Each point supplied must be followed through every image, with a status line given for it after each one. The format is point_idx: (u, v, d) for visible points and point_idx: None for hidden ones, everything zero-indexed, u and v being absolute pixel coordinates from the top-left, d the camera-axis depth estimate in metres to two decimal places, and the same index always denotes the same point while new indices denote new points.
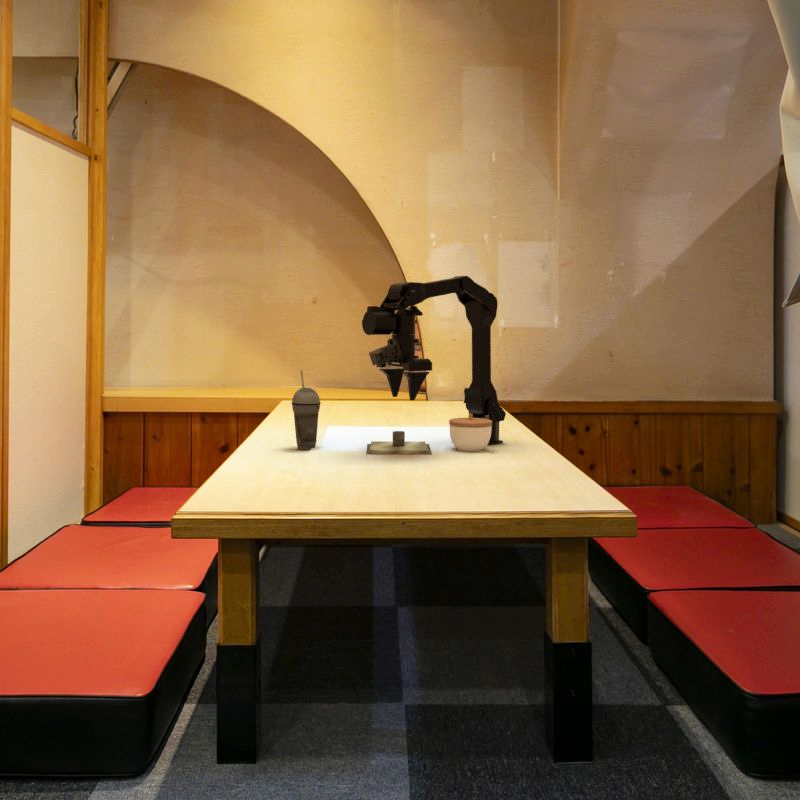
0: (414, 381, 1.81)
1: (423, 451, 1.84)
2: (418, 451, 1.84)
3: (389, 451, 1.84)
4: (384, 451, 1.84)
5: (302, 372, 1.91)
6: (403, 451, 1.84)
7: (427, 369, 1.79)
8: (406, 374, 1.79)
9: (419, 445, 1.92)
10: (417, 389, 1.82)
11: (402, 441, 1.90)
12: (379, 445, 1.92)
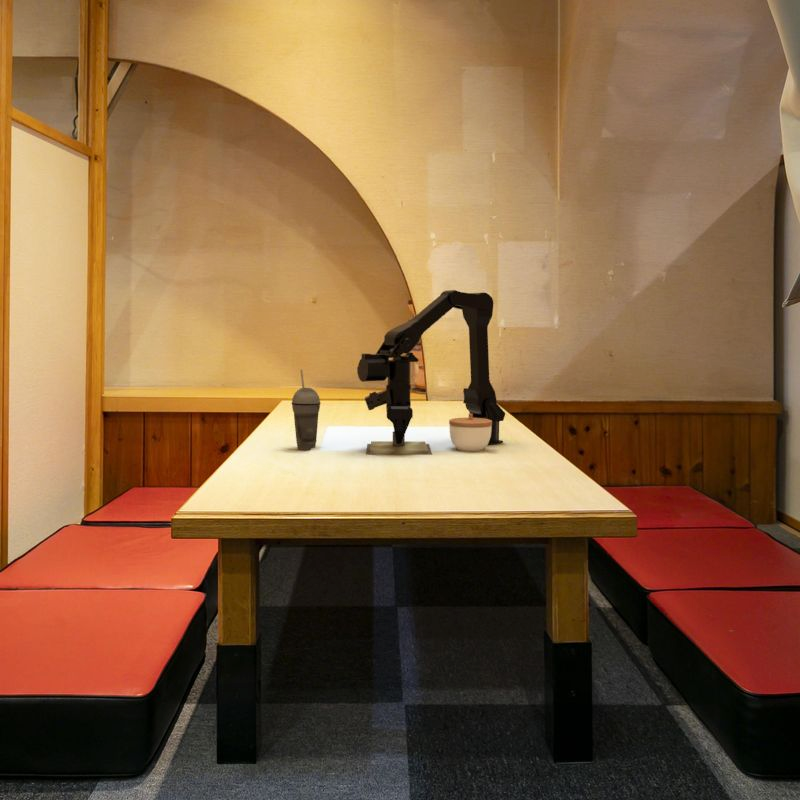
0: (398, 425, 1.88)
1: (423, 451, 1.84)
2: (418, 451, 1.84)
3: (389, 451, 1.84)
4: (384, 451, 1.84)
5: (302, 372, 1.91)
6: (403, 451, 1.84)
7: (406, 416, 1.81)
8: None
9: (419, 445, 1.92)
10: (402, 433, 1.88)
11: (402, 441, 1.90)
12: (379, 445, 1.92)
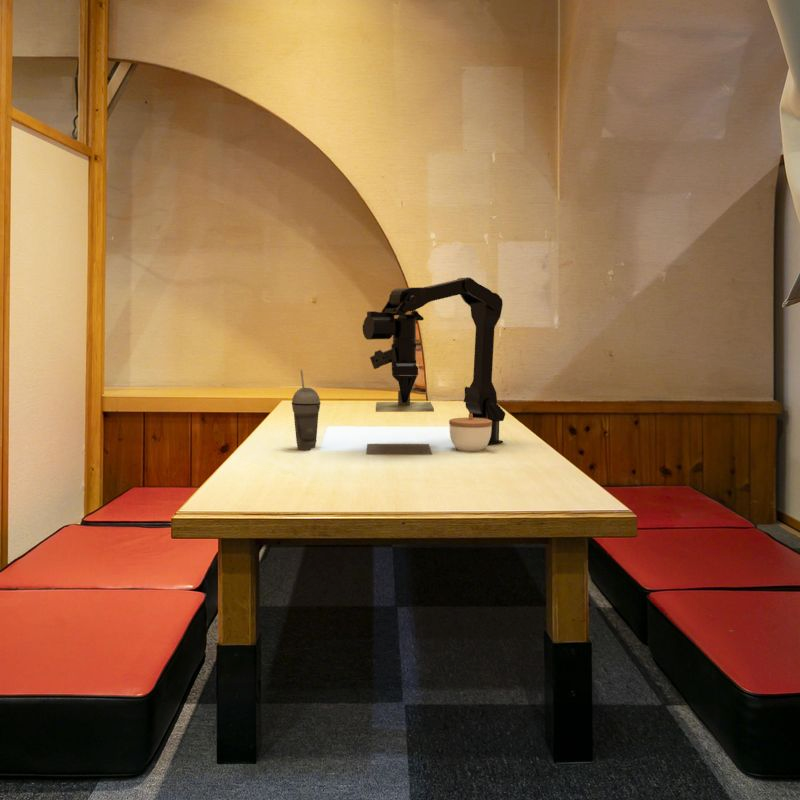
0: (403, 384, 1.87)
1: (429, 409, 1.83)
2: (424, 409, 1.83)
3: (395, 409, 1.83)
4: (390, 409, 1.83)
5: (302, 372, 1.91)
6: (409, 409, 1.83)
7: (411, 374, 1.80)
8: None
9: (425, 404, 1.91)
10: (408, 392, 1.87)
11: (408, 400, 1.89)
12: None
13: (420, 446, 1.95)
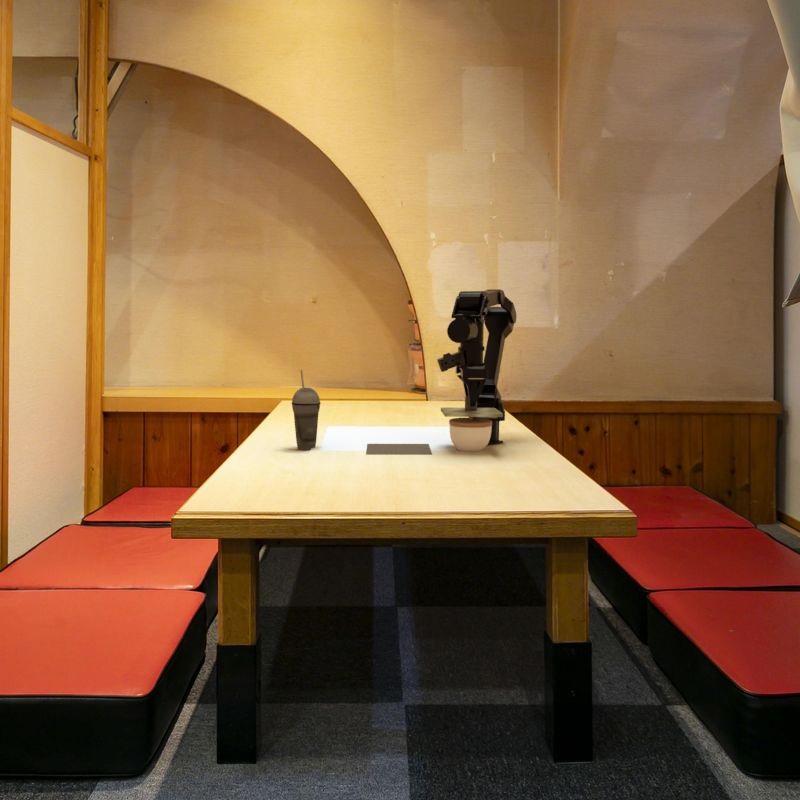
0: (472, 387, 1.85)
1: (498, 414, 1.84)
2: (493, 414, 1.84)
3: (464, 414, 1.84)
4: (459, 414, 1.84)
5: (302, 372, 1.91)
6: (478, 414, 1.84)
7: (482, 377, 1.81)
8: (463, 380, 1.84)
9: (491, 410, 1.91)
10: (476, 396, 1.86)
11: (475, 405, 1.90)
12: (451, 410, 1.91)
13: (420, 446, 1.95)
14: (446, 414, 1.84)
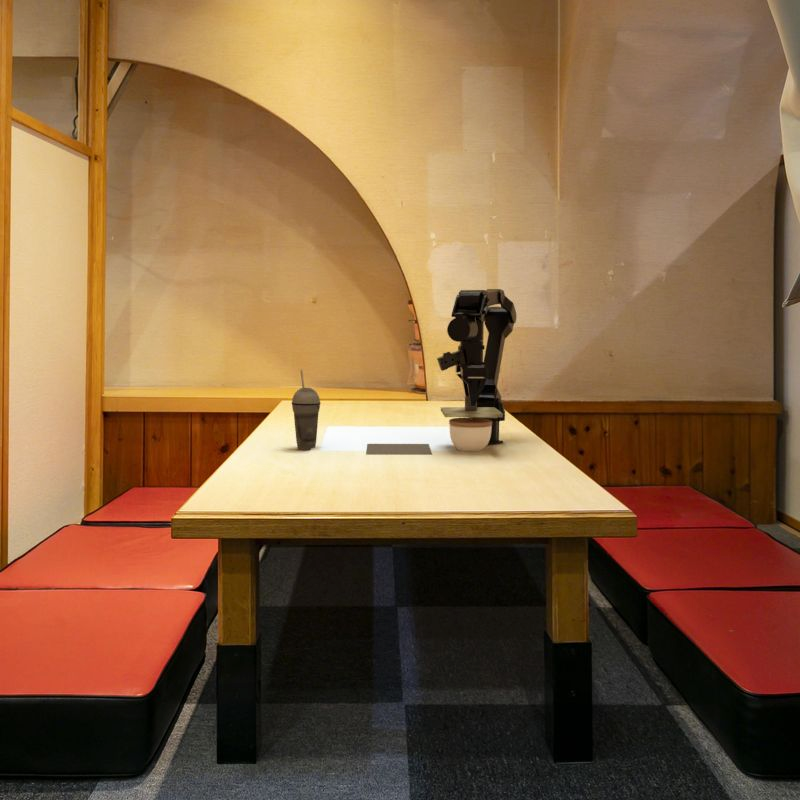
0: (473, 386, 1.84)
1: (498, 414, 1.84)
2: (493, 414, 1.84)
3: (464, 414, 1.84)
4: (459, 414, 1.84)
5: (302, 372, 1.91)
6: (478, 414, 1.84)
7: (482, 375, 1.80)
8: (463, 379, 1.83)
9: (491, 410, 1.91)
10: (477, 395, 1.85)
11: (475, 405, 1.90)
12: (451, 410, 1.91)
13: (420, 446, 1.95)
14: (446, 415, 1.84)
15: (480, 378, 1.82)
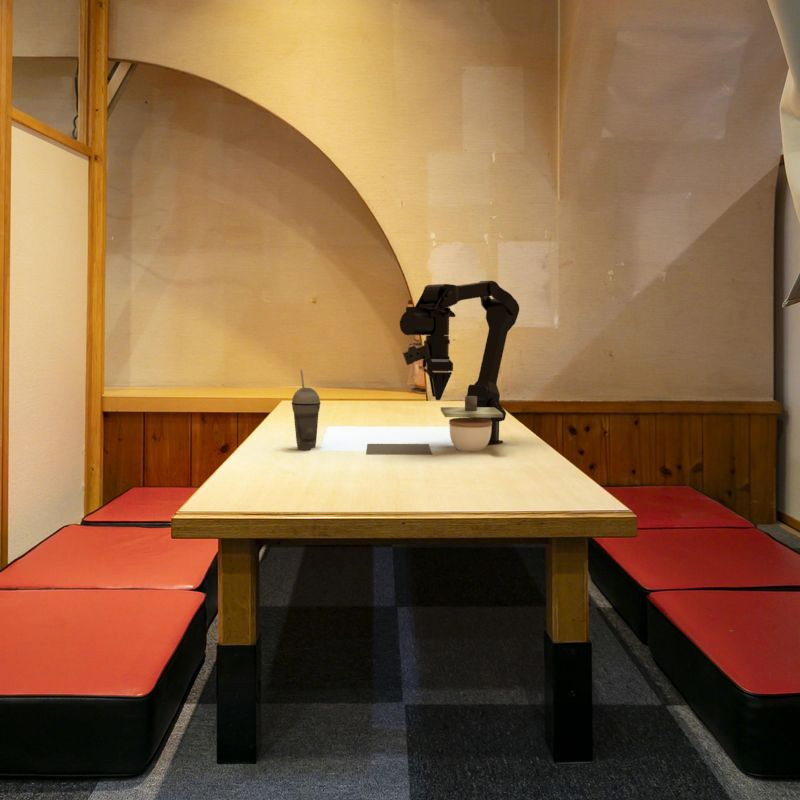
0: (438, 381, 1.84)
1: (498, 415, 1.84)
2: (493, 415, 1.84)
3: (464, 414, 1.84)
4: (459, 414, 1.84)
5: (302, 372, 1.91)
6: (478, 415, 1.84)
7: (446, 369, 1.80)
8: (428, 374, 1.83)
9: (491, 410, 1.91)
10: (442, 389, 1.84)
11: (475, 406, 1.90)
12: (451, 410, 1.91)
13: (420, 446, 1.95)
14: (446, 415, 1.84)
15: (445, 372, 1.81)
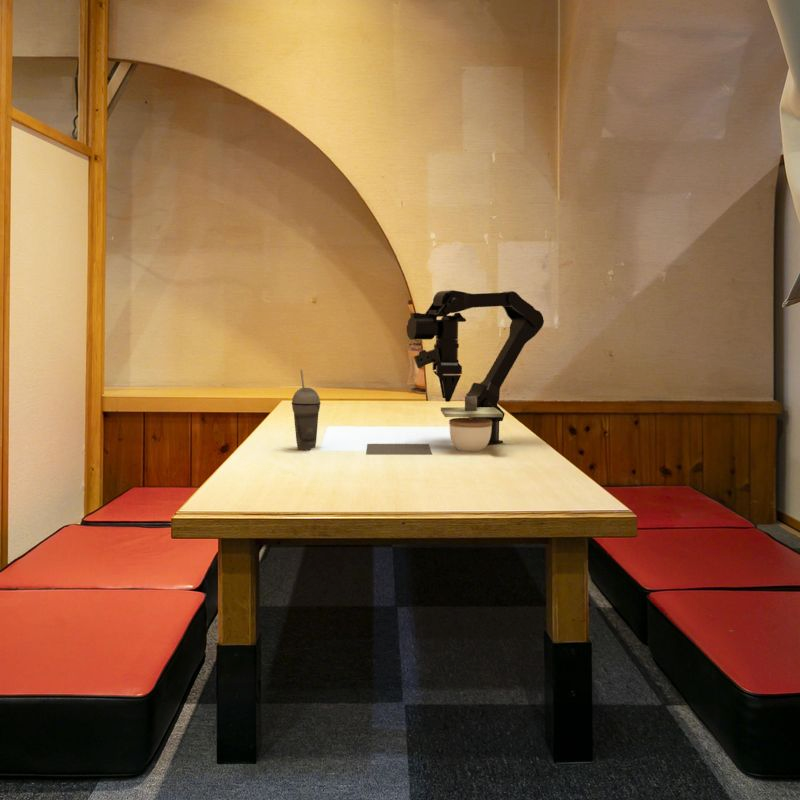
0: (447, 383, 1.92)
1: (498, 414, 1.84)
2: (493, 414, 1.84)
3: (464, 414, 1.84)
4: (459, 414, 1.84)
5: (302, 372, 1.91)
6: (478, 414, 1.84)
7: (455, 372, 1.88)
8: (438, 376, 1.91)
9: (491, 410, 1.91)
10: (451, 391, 1.93)
11: (475, 405, 1.90)
12: (451, 410, 1.91)
13: (420, 446, 1.95)
14: (446, 415, 1.84)
15: (454, 375, 1.90)
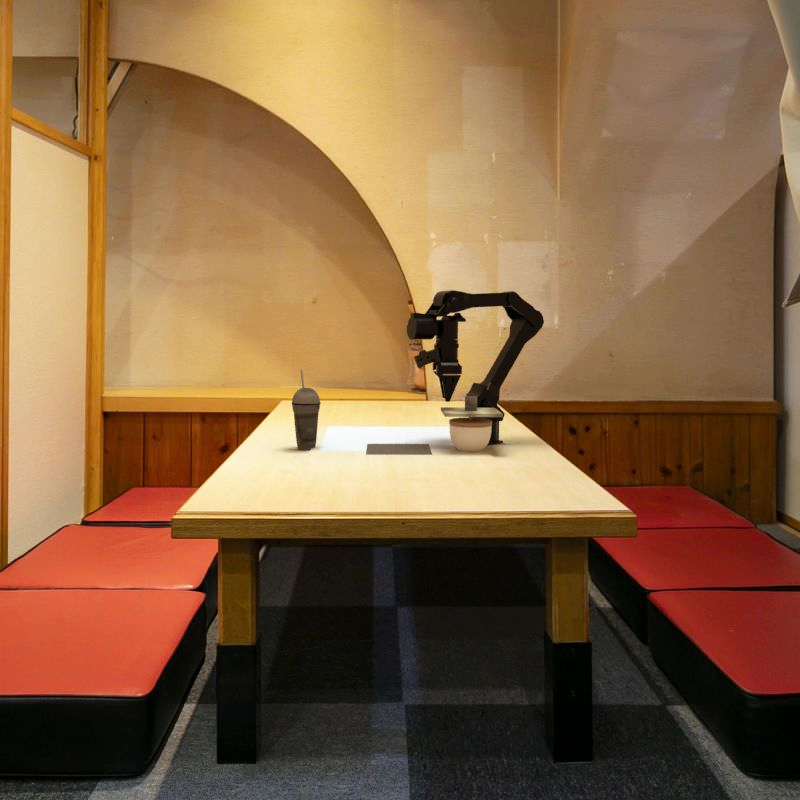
0: (447, 383, 1.92)
1: (498, 414, 1.84)
2: (493, 414, 1.84)
3: (464, 414, 1.84)
4: (459, 414, 1.84)
5: (302, 372, 1.91)
6: (478, 414, 1.84)
7: (455, 372, 1.88)
8: (438, 376, 1.91)
9: (491, 410, 1.91)
10: (451, 391, 1.93)
11: (475, 405, 1.90)
12: (451, 410, 1.91)
13: (420, 446, 1.95)
14: (446, 414, 1.84)
15: (454, 375, 1.90)
